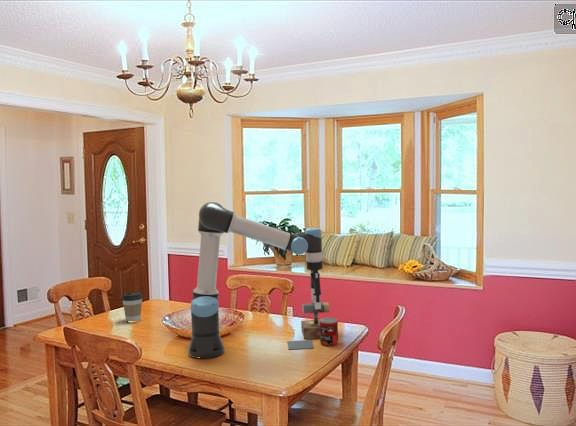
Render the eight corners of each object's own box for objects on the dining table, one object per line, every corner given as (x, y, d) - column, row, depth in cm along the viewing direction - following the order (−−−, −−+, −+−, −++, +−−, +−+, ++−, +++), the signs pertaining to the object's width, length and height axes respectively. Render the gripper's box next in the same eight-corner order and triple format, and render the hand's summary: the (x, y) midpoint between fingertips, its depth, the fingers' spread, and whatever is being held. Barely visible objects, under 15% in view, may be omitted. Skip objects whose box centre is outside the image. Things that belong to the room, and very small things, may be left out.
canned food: (316, 344, 224) (316, 320, 223) (328, 340, 230) (327, 316, 229) (330, 348, 219) (329, 323, 218) (341, 343, 225) (341, 319, 224)
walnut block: (304, 339, 232) (303, 327, 232) (301, 330, 245) (301, 320, 245) (331, 337, 233) (331, 326, 233) (328, 329, 246) (327, 318, 246)
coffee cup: (128, 318, 279) (126, 291, 278) (147, 318, 277) (146, 291, 276) (118, 323, 267) (117, 296, 267) (138, 324, 266) (137, 296, 265)
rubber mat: (288, 349, 218) (288, 349, 218) (287, 341, 229) (287, 341, 229) (313, 348, 219) (313, 347, 218) (311, 340, 229) (311, 339, 229)
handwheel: (304, 324, 236) (303, 305, 235) (302, 321, 241) (302, 303, 240) (329, 323, 237) (329, 304, 236) (328, 320, 242) (327, 302, 241)
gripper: (326, 264, 225) (327, 311, 226) (319, 256, 250) (320, 298, 251) (309, 265, 224) (311, 312, 226) (304, 257, 249) (305, 299, 251)
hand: (316, 305), depth 238 cm, fingers open, 13 cm apart
